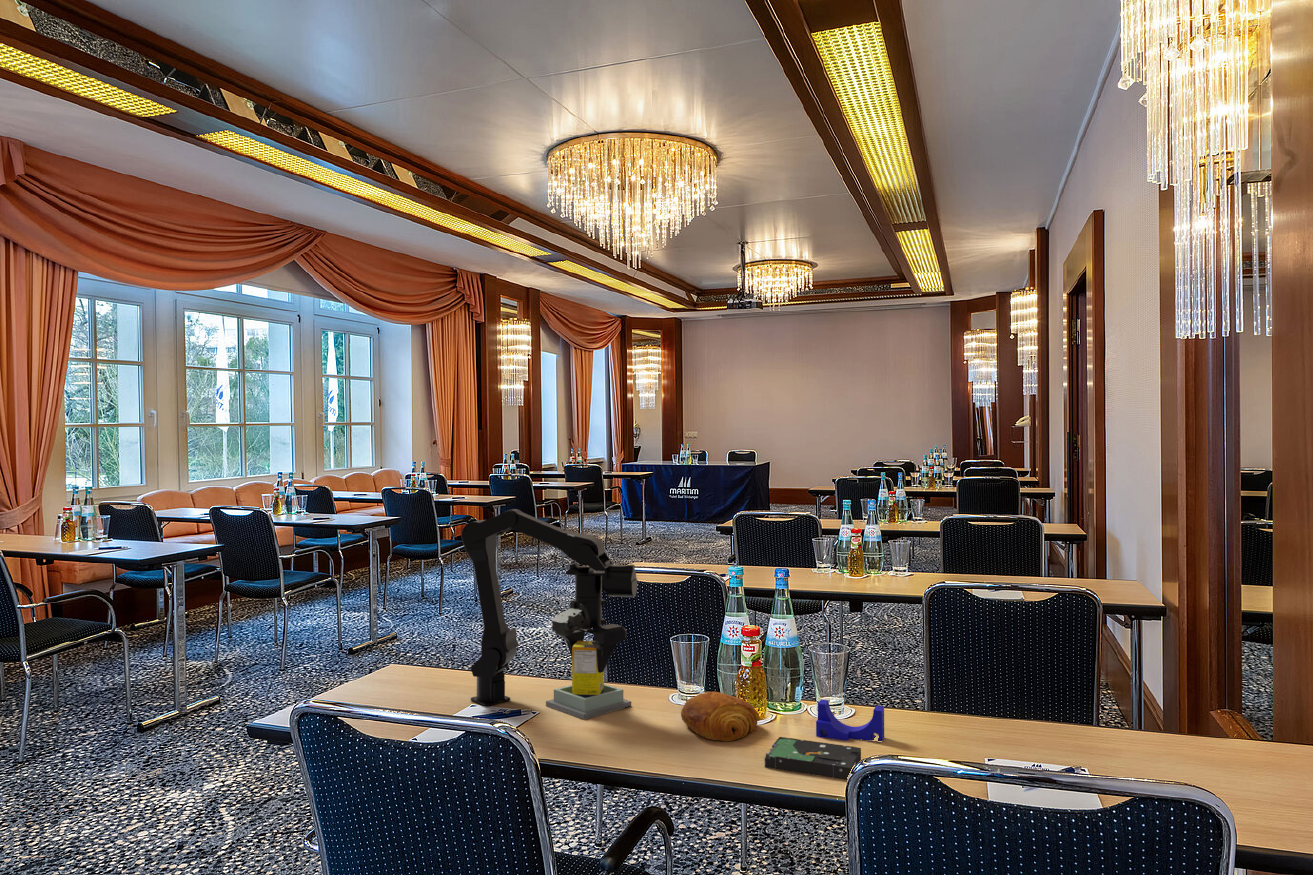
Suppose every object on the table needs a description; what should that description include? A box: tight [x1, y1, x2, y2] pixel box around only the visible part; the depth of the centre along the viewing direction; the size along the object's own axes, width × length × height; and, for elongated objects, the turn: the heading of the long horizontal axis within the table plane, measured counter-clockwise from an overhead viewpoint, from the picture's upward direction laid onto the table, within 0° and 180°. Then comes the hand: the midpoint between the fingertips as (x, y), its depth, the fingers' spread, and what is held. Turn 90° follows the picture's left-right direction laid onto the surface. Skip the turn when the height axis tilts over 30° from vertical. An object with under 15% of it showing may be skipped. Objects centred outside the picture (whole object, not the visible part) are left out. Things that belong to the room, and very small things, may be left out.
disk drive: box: [764, 736, 862, 781], centre depth 141 cm, size 10×3×15 cm
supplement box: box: [571, 640, 605, 698], centre depth 174 cm, size 6×6×11 cm
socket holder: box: [545, 683, 632, 720], centre depth 174 cm, size 13×13×4 cm
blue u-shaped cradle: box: [815, 699, 885, 742], centre depth 154 cm, size 12×4×6 cm, turn 66°
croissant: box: [680, 691, 761, 742], centre depth 159 cm, size 14×16×8 cm
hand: (588, 668), depth 174 cm, fingers closed on supplement box, 8 cm apart
